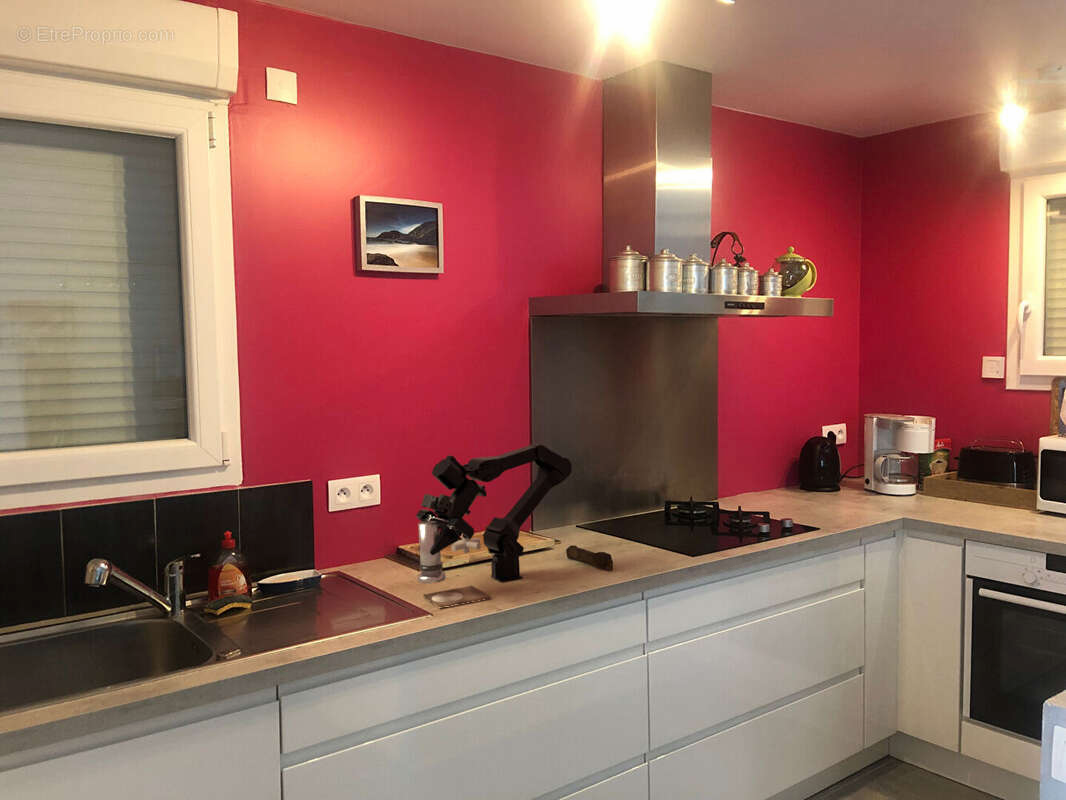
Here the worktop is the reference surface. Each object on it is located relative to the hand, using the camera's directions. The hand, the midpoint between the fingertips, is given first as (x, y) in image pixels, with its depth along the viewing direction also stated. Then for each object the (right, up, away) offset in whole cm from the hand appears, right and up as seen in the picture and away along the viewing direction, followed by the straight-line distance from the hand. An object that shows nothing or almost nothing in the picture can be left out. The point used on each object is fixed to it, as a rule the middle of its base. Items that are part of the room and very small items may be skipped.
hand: (425, 552), depth 209 cm
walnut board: (+8, -11, -1) cm, 13 cm away
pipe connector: (+7, -9, +34) cm, 36 cm away
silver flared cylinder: (+1, -7, +1) cm, 7 cm away
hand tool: (+43, -8, +26) cm, 50 cm away
